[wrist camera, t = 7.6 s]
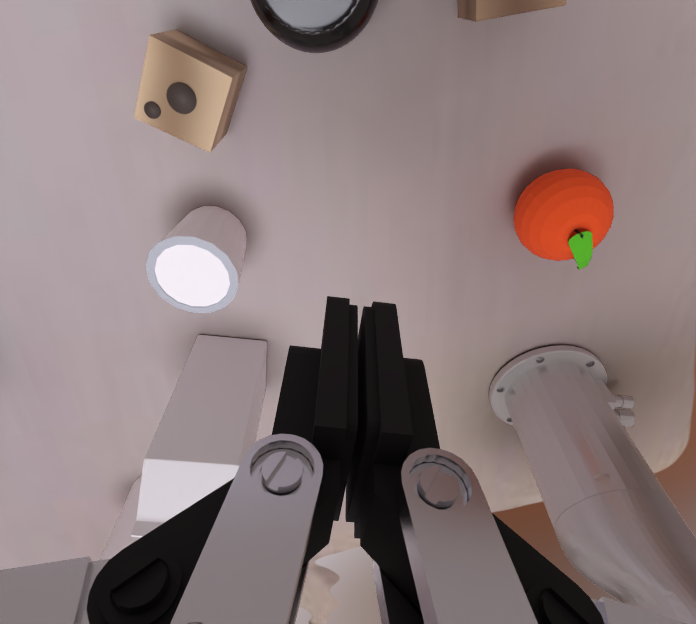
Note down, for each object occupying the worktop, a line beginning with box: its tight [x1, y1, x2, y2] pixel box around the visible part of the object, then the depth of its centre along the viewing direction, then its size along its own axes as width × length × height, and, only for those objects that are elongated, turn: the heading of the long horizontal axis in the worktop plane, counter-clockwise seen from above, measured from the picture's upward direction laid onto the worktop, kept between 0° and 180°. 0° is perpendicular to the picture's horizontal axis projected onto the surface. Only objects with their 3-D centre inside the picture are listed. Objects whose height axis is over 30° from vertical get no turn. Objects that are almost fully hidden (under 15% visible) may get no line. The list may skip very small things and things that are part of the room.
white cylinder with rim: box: [146, 206, 247, 313], centre depth 35 cm, size 7×7×7 cm
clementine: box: [514, 169, 613, 269], centre depth 34 cm, size 8×7×7 cm
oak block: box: [134, 30, 247, 152], centre depth 29 cm, size 5×5×5 cm
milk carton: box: [131, 335, 267, 537], centre depth 40 cm, size 7×7×19 cm
